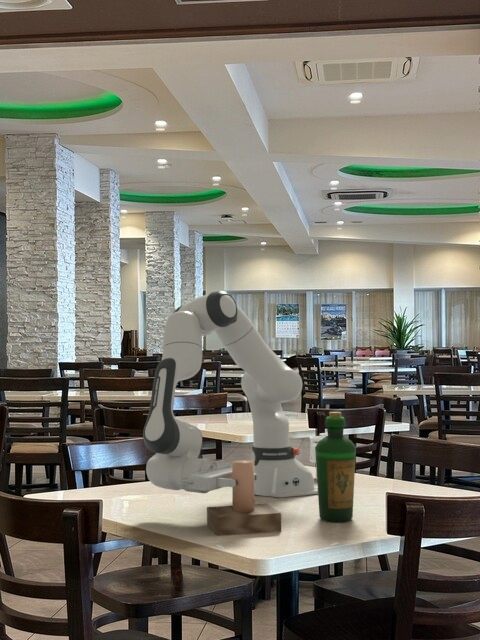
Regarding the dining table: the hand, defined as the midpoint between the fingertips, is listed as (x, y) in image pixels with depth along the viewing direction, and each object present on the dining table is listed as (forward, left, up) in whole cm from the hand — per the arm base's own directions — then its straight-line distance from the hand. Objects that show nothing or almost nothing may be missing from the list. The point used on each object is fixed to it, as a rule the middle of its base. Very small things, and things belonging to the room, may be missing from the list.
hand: (246, 480), depth 203 cm
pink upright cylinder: (+1, -1, -7) cm, 8 cm away
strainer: (-44, -66, -12) cm, 80 cm away
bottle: (-25, -4, -12) cm, 28 cm away
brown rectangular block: (+1, -1, -12) cm, 12 cm away
